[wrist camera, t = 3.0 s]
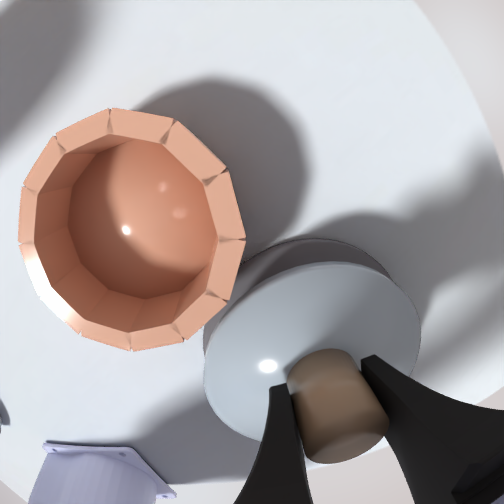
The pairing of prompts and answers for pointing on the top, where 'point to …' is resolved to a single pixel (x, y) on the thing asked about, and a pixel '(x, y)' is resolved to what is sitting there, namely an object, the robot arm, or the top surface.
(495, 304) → the top surface
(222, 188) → the bowl
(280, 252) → the mat
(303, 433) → the lid
